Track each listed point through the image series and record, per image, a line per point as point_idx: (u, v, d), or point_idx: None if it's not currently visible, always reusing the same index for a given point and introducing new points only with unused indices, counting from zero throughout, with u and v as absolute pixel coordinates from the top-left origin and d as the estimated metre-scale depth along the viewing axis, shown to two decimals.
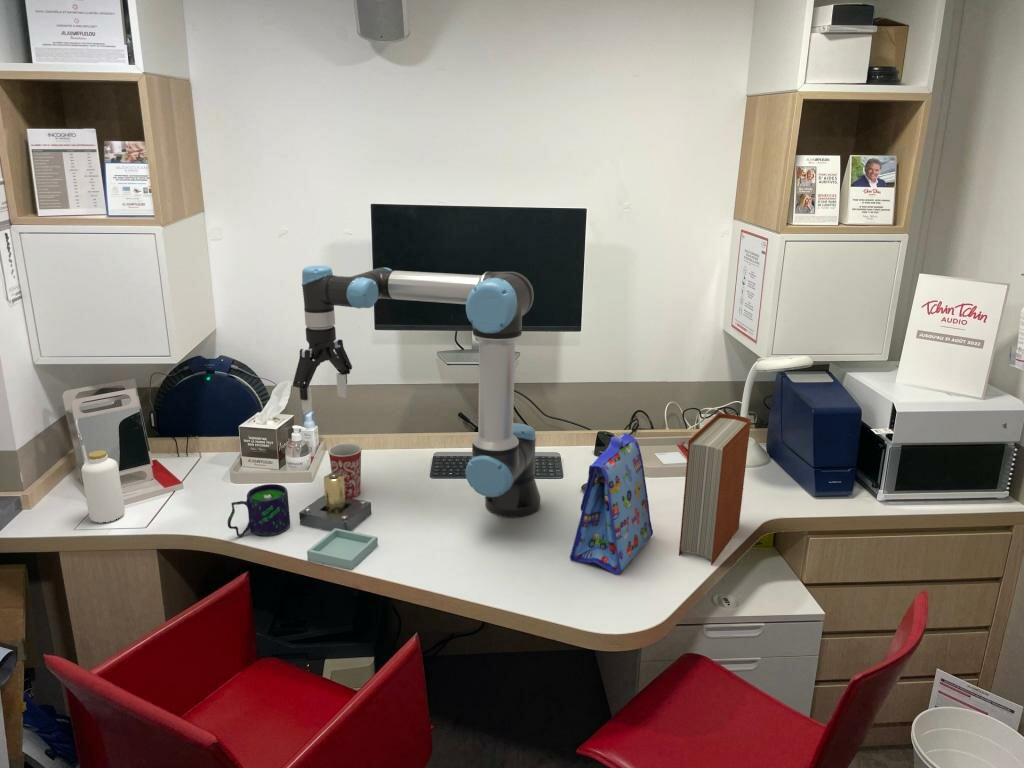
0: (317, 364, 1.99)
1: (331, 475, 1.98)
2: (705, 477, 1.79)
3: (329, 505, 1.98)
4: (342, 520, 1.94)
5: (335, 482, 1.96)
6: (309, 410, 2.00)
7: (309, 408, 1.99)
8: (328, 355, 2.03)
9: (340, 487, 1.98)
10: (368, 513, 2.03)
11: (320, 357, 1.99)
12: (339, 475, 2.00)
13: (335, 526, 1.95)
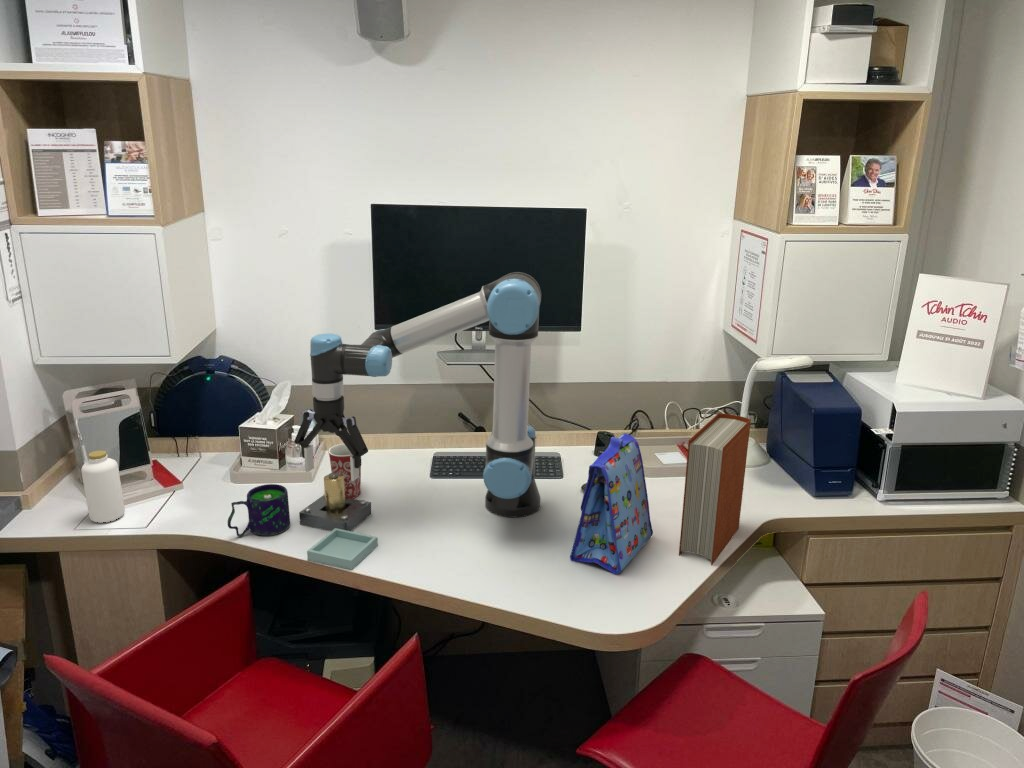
0: (314, 430, 1.94)
1: (331, 475, 1.98)
2: (705, 477, 1.79)
3: (329, 505, 1.98)
4: (342, 520, 1.94)
5: (335, 482, 1.96)
6: None
7: None
8: (331, 428, 1.93)
9: (340, 487, 1.98)
10: (368, 513, 2.03)
11: (317, 425, 1.93)
12: (339, 475, 2.00)
13: (335, 526, 1.95)
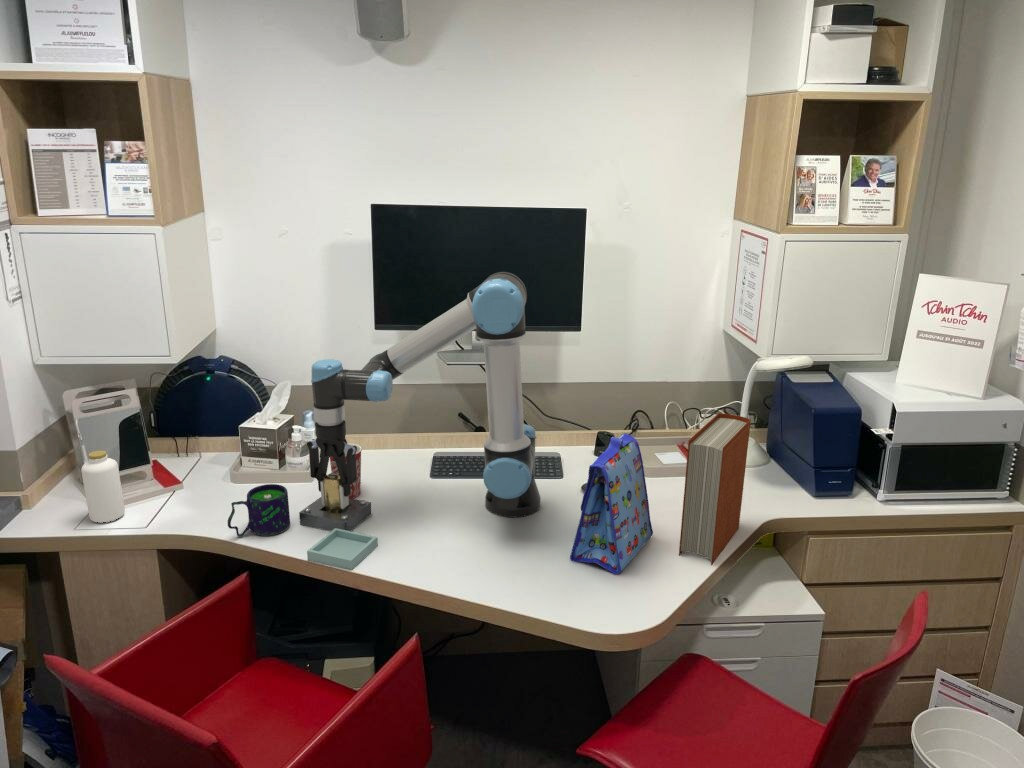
0: (321, 458, 1.96)
1: (331, 475, 1.98)
2: (705, 477, 1.79)
3: (329, 505, 1.98)
4: (342, 520, 1.94)
5: (335, 482, 1.96)
6: None
7: None
8: None
9: None
10: (368, 513, 2.03)
11: (321, 451, 1.95)
12: (339, 475, 2.00)
13: (335, 526, 1.95)
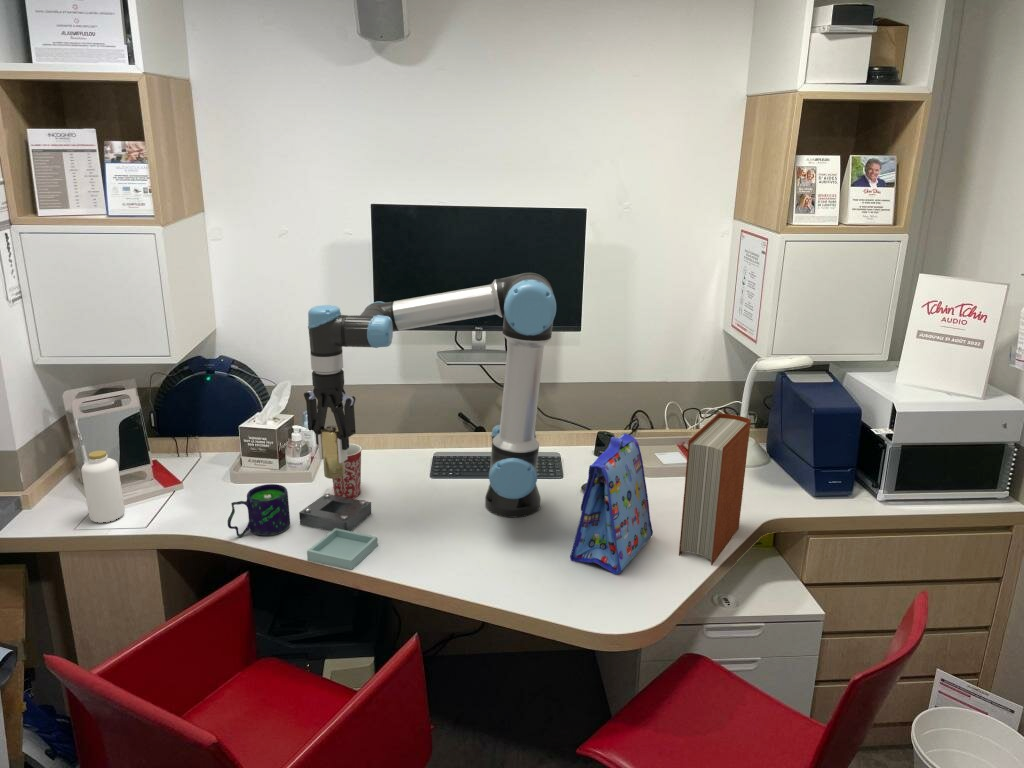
0: (319, 409, 1.88)
1: (329, 427, 1.90)
2: (705, 477, 1.79)
3: (327, 459, 1.91)
4: (342, 520, 1.94)
5: (333, 434, 1.89)
6: None
7: None
8: None
9: None
10: (368, 513, 2.03)
11: (319, 402, 1.88)
12: (337, 428, 1.92)
13: (335, 526, 1.95)
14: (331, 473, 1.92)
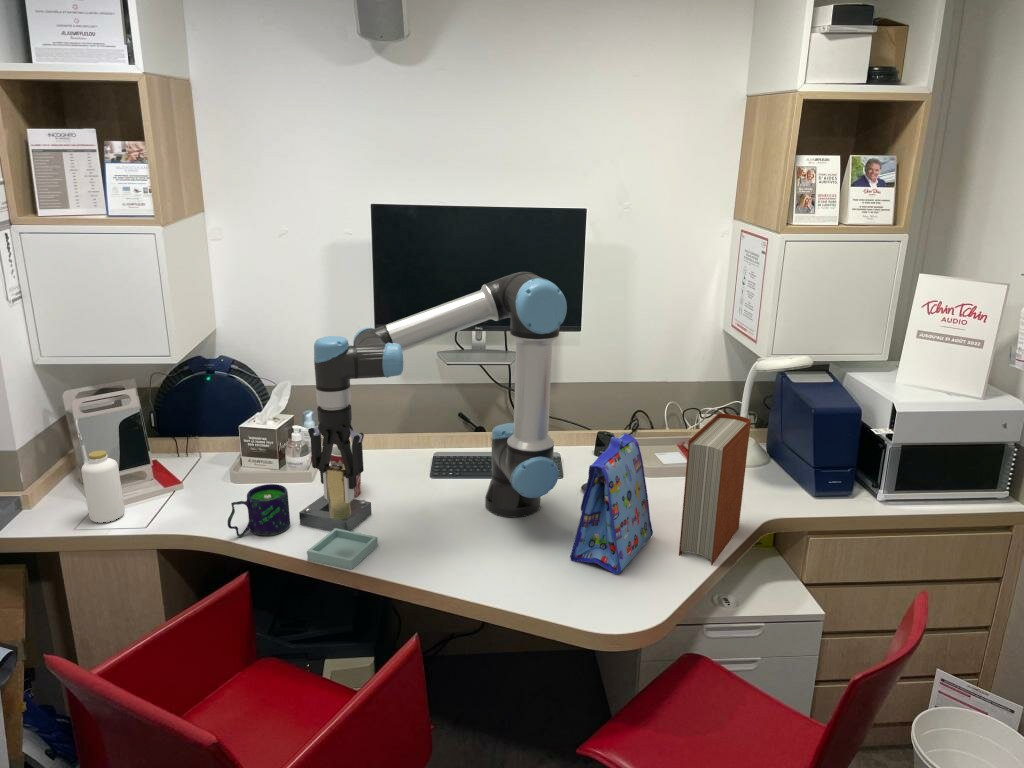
0: (324, 446, 1.77)
1: (335, 465, 1.78)
2: (705, 477, 1.79)
3: (332, 499, 1.79)
4: (342, 520, 1.94)
5: (339, 473, 1.77)
6: None
7: None
8: None
9: None
10: (368, 513, 2.03)
11: (324, 439, 1.76)
12: None
13: (335, 526, 1.95)
14: (337, 514, 1.80)
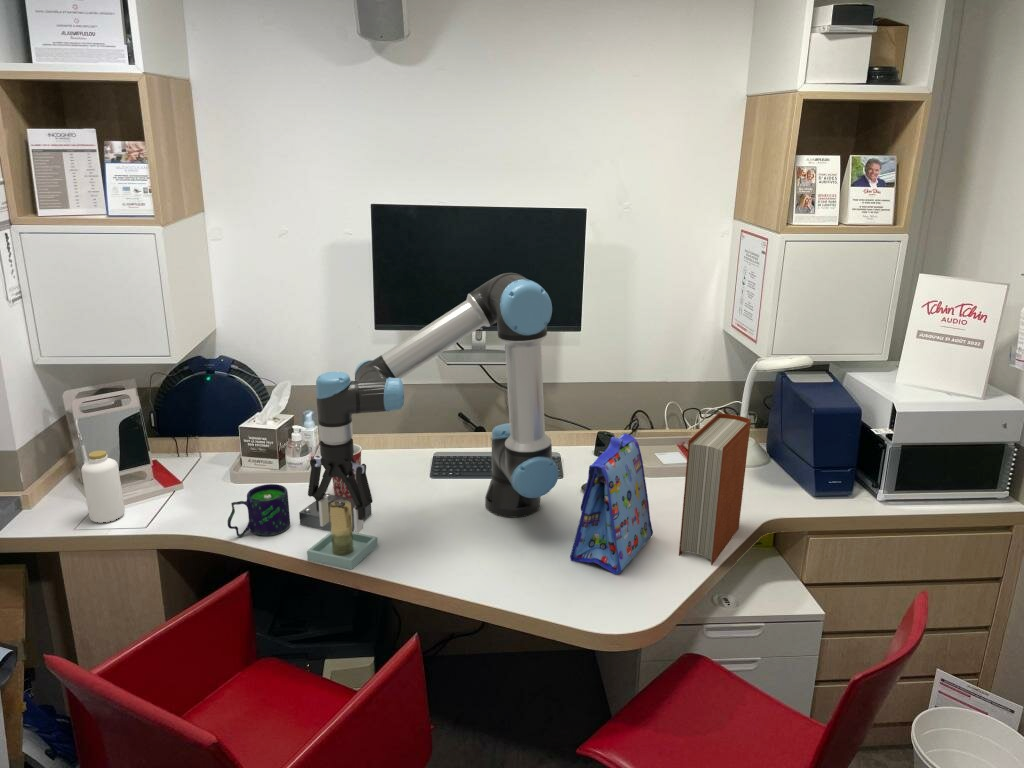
0: (324, 478, 1.79)
1: (337, 502, 1.81)
2: (705, 477, 1.79)
3: (335, 535, 1.82)
4: None
5: (342, 510, 1.80)
6: None
7: None
8: None
9: (348, 516, 1.82)
10: (368, 513, 2.03)
11: (326, 471, 1.79)
12: (346, 502, 1.83)
13: None
14: (339, 550, 1.83)
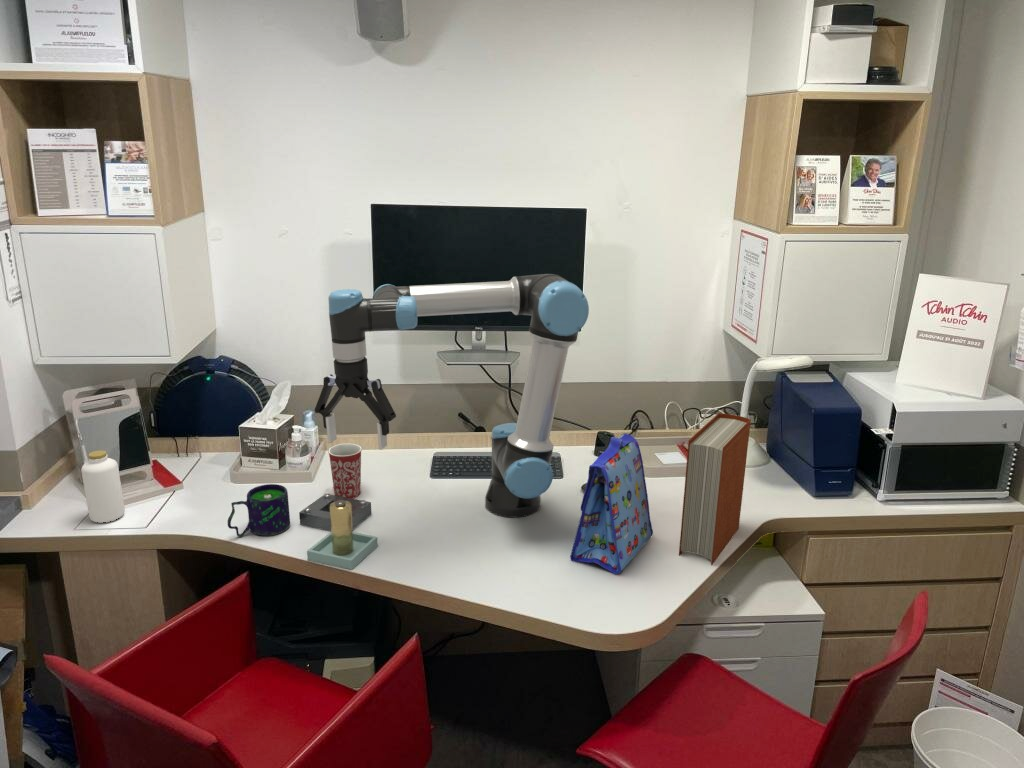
0: (336, 396, 1.79)
1: (338, 503, 1.81)
2: (705, 477, 1.79)
3: (335, 535, 1.82)
4: None
5: (342, 511, 1.80)
6: None
7: None
8: (354, 392, 1.77)
9: (348, 516, 1.81)
10: (368, 513, 2.03)
11: (339, 390, 1.78)
12: (346, 503, 1.83)
13: None
14: (340, 550, 1.83)
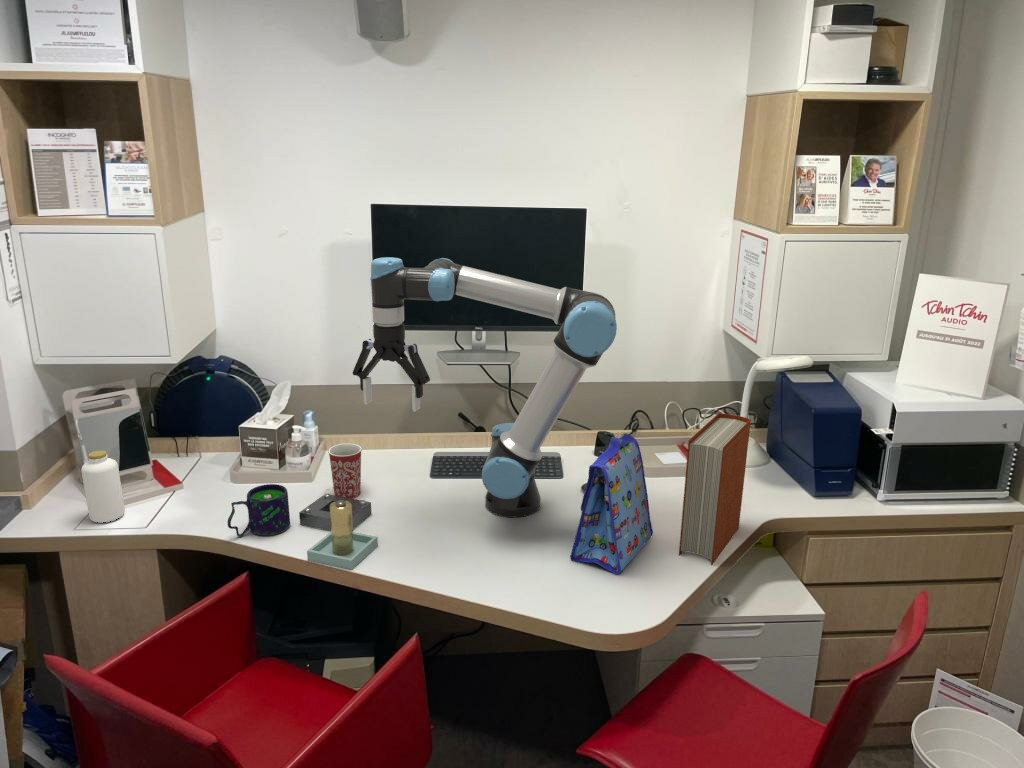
0: (374, 359, 1.88)
1: (338, 503, 1.81)
2: (705, 477, 1.79)
3: (336, 535, 1.82)
4: None
5: (342, 511, 1.80)
6: None
7: None
8: (391, 356, 1.87)
9: (348, 516, 1.81)
10: (368, 513, 2.03)
11: (377, 353, 1.87)
12: (346, 502, 1.83)
13: None
14: (340, 550, 1.83)
